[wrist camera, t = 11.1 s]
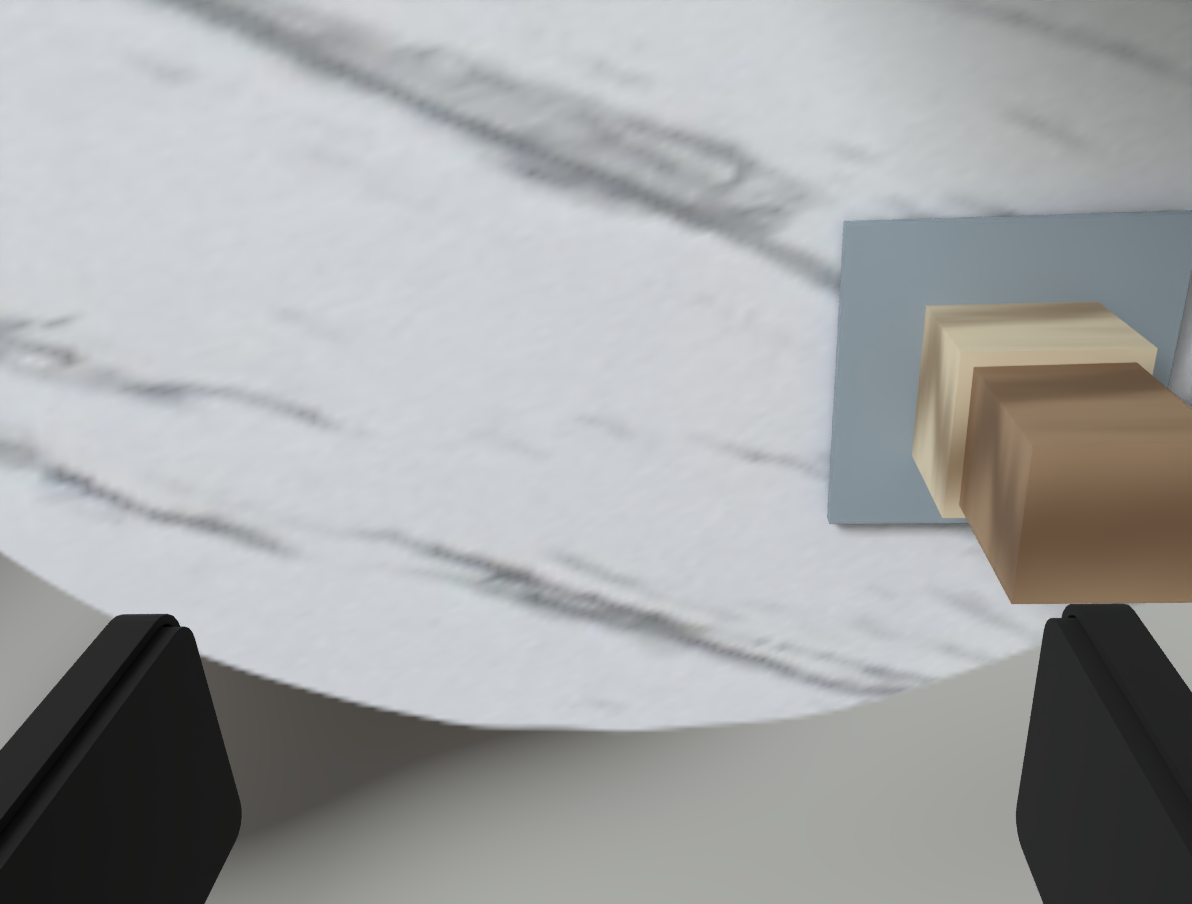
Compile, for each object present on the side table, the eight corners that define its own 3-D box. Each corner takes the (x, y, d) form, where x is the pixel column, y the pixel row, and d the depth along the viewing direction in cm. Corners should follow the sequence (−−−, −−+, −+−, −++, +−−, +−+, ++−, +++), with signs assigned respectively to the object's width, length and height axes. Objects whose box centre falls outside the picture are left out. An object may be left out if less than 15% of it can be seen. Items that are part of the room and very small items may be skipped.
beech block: (925, 305, 37) (960, 352, 32) (1098, 301, 37) (1157, 348, 32) (912, 455, 40) (942, 518, 35) (1072, 453, 39) (1124, 516, 35)
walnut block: (973, 367, 33) (1032, 445, 27) (1137, 362, 32) (1230, 441, 27) (959, 505, 35) (1011, 604, 29) (1111, 502, 34) (1193, 602, 29)
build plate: (843, 221, 37) (846, 225, 36) (1195, 210, 36) (1202, 214, 35) (827, 516, 42) (829, 523, 41) (1134, 514, 41) (1140, 521, 40)
